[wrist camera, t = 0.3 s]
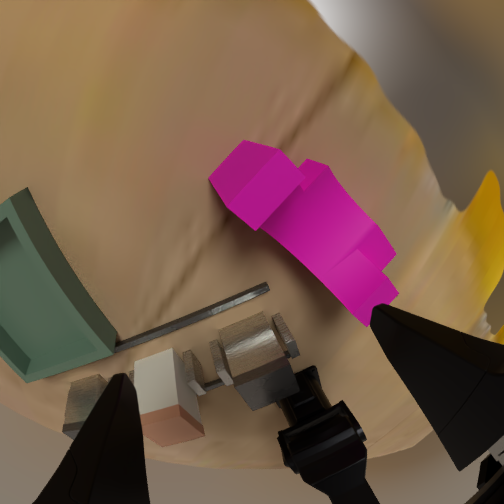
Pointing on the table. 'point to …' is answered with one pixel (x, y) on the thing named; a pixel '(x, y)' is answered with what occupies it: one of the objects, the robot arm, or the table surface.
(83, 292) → the tray
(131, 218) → the table surface
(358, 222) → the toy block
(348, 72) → the table surface
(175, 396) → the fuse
